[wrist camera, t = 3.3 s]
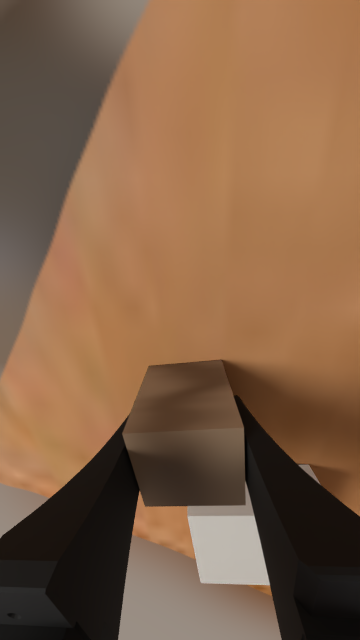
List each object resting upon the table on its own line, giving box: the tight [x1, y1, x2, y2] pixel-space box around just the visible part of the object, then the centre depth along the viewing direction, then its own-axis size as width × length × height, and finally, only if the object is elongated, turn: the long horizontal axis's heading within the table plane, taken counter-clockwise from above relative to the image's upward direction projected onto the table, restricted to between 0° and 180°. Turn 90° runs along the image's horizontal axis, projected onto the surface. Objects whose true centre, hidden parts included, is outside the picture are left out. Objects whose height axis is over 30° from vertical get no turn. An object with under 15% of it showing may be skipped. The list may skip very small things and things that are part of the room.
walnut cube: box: [122, 360, 246, 506], centre depth 10 cm, size 5×5×5 cm
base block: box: [188, 464, 321, 585], centre depth 15 cm, size 10×10×3 cm
